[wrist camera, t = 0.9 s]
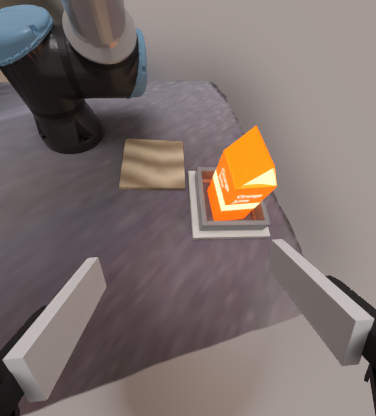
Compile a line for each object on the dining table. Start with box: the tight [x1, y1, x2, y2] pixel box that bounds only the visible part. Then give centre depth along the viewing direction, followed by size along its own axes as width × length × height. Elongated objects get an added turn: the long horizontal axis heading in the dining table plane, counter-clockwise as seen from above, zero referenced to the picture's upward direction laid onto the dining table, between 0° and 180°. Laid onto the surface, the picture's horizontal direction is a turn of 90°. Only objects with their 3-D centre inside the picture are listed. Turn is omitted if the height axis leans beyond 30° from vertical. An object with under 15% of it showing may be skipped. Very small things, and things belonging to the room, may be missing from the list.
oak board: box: [119, 139, 185, 190], centre depth 47 cm, size 16×16×1 cm
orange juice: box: [207, 126, 277, 221], centre depth 36 cm, size 8×9×20 cm
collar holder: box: [188, 167, 271, 240], centre depth 42 cm, size 18×18×5 cm
